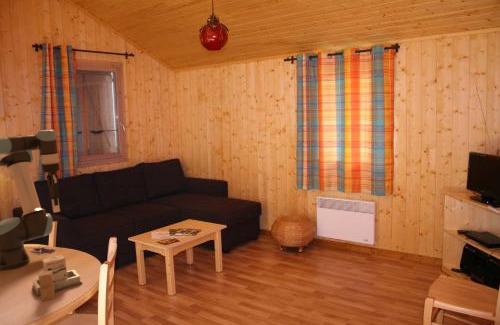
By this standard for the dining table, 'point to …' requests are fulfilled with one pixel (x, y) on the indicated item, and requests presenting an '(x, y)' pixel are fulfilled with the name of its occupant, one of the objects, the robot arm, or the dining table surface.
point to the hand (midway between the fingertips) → (56, 211)
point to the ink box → (56, 267)
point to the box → (46, 285)
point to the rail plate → (60, 282)
